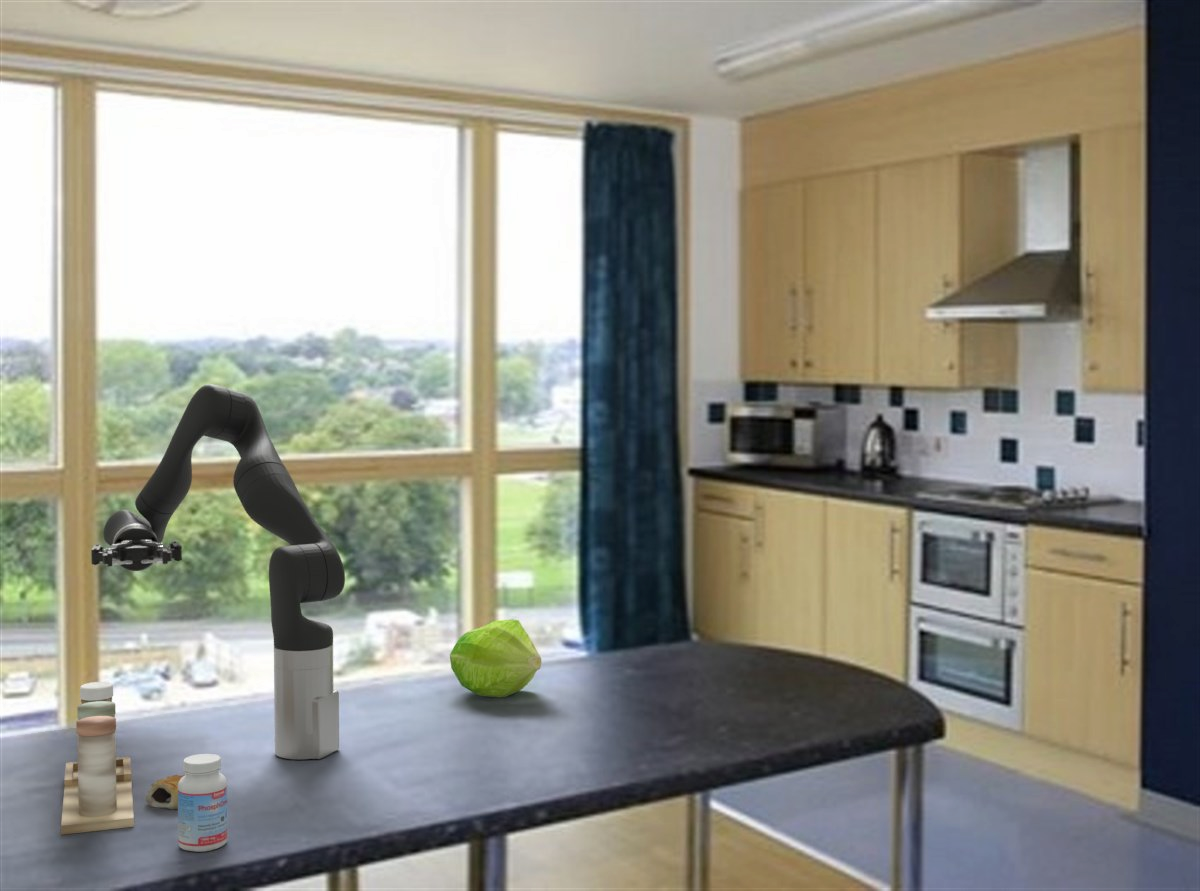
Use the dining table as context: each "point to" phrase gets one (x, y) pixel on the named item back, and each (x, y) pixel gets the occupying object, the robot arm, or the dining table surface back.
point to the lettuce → (495, 659)
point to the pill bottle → (202, 804)
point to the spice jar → (96, 692)
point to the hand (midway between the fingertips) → (137, 558)
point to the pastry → (164, 793)
